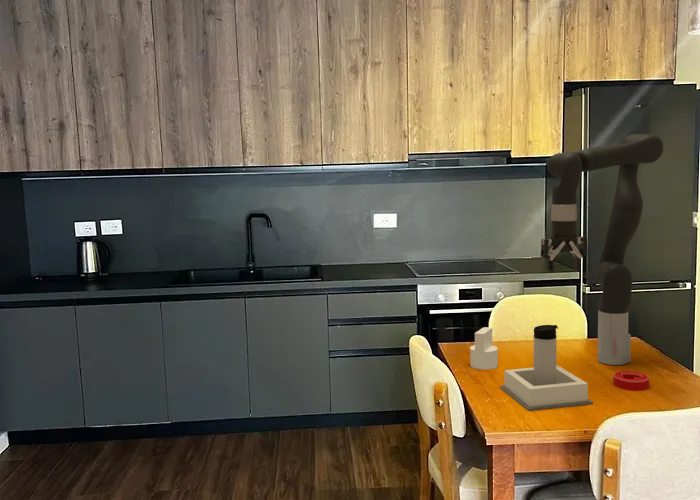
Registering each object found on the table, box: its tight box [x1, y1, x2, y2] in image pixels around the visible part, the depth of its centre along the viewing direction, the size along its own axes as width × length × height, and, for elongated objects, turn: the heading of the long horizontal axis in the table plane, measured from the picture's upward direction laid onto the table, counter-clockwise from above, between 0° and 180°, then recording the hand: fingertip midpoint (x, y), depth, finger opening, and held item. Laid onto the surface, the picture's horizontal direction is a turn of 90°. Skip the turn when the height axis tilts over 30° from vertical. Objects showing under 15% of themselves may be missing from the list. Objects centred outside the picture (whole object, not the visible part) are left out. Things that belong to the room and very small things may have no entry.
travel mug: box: [533, 324, 559, 386], centre depth 179 cm, size 6×7×20 cm
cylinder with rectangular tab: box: [469, 326, 499, 371], centre depth 209 cm, size 9×9×12 cm
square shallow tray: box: [499, 364, 594, 412], centre depth 180 cm, size 19×19×6 cm
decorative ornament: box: [612, 370, 650, 392], centre depth 186 cm, size 10×10×3 cm
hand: (563, 271), depth 193 cm, fingers open, 8 cm apart
